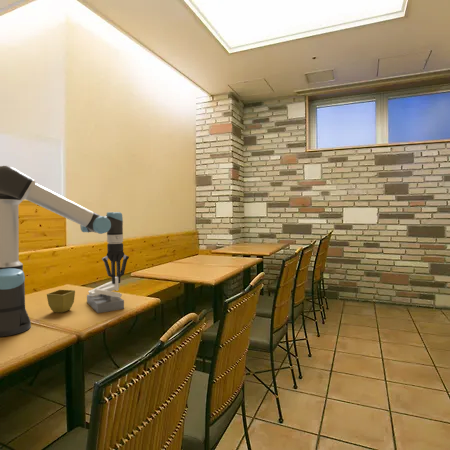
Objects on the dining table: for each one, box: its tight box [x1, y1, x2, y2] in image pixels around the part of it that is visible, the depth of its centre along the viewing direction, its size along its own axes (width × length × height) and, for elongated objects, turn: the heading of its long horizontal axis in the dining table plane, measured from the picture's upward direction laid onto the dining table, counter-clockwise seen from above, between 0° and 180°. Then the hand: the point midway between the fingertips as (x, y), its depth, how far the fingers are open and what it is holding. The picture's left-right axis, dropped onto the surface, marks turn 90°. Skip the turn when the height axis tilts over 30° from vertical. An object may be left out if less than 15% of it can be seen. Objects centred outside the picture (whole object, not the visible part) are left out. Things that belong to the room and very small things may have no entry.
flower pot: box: [46, 289, 76, 314], centre depth 154 cm, size 9×9×9 cm
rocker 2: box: [91, 285, 118, 296], centre depth 163 cm, size 12×3×2 cm, turn 124°
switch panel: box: [86, 293, 125, 314], centre depth 163 cm, size 12×22×6 cm, turn 34°
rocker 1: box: [87, 280, 114, 295], centre depth 168 cm, size 12×3×2 cm, turn 124°
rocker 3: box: [94, 287, 123, 298], centre depth 158 cm, size 12×3×2 cm, turn 124°
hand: (116, 290), depth 166 cm, fingers closed, pressing on rocker 2
